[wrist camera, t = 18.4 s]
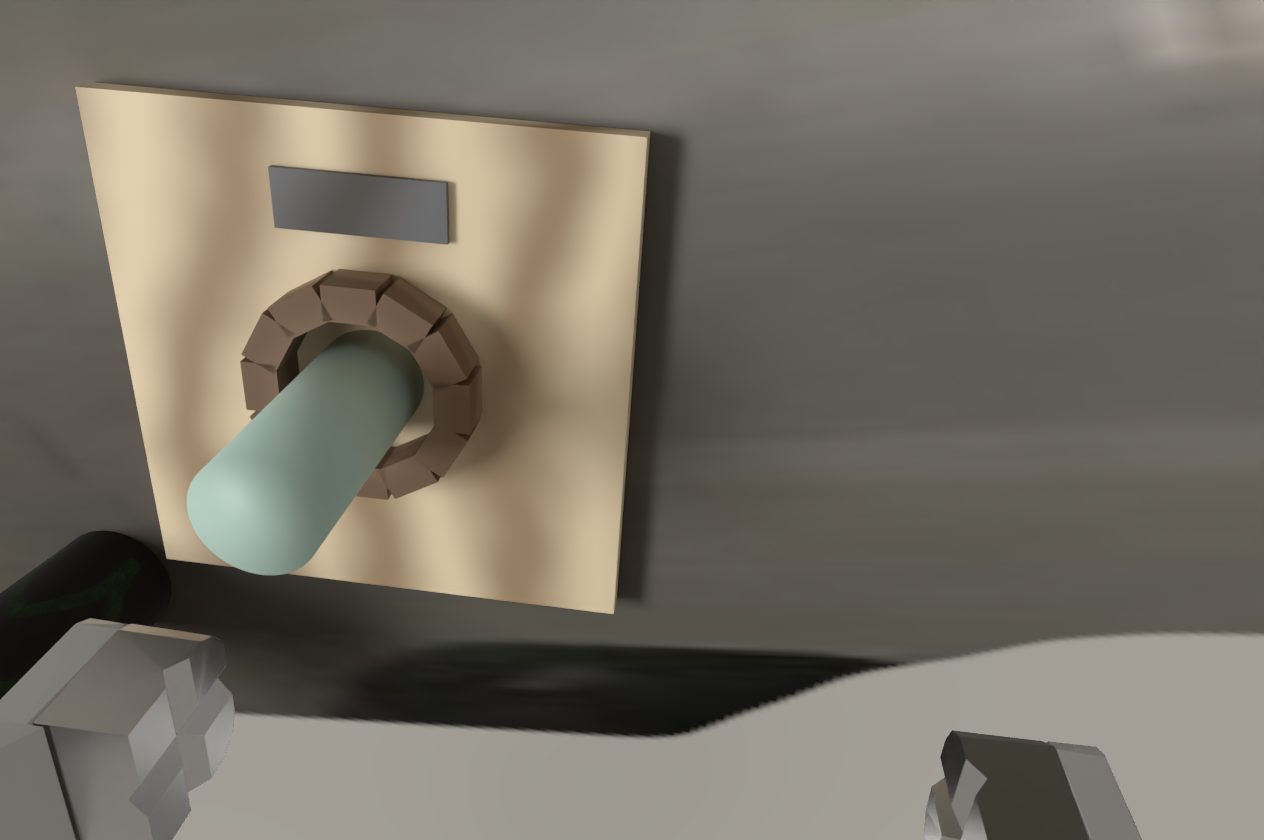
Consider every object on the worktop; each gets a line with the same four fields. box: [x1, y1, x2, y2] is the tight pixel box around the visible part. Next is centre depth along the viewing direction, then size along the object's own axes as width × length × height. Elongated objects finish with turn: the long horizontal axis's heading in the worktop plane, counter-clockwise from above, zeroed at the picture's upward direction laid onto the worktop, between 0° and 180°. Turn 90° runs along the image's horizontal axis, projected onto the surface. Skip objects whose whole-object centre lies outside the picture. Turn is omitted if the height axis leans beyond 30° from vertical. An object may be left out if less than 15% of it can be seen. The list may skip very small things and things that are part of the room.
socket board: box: [75, 82, 650, 614], centre depth 41 cm, size 22×22×3 cm
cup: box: [0, 531, 171, 700], centre depth 44 cm, size 8×8×12 cm
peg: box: [187, 330, 424, 575], centre depth 36 cm, size 4×4×11 cm
